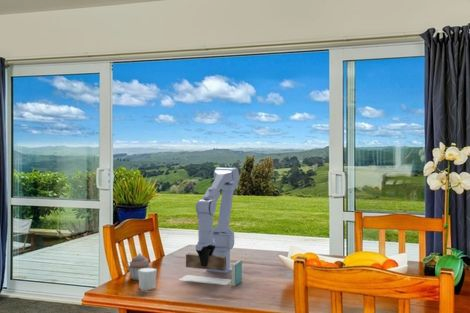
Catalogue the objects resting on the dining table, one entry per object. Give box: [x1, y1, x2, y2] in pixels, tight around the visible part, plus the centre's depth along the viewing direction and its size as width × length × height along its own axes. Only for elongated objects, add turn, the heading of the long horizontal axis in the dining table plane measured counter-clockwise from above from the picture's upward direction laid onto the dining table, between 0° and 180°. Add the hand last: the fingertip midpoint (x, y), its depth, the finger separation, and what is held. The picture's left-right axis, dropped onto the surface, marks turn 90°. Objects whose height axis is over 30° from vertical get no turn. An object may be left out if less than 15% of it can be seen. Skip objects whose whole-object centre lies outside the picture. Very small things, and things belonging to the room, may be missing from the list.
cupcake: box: [127, 253, 152, 281], centre depth 187 cm, size 9×9×10 cm
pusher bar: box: [185, 252, 226, 271], centre depth 184 cm, size 16×2×5 cm, turn 70°
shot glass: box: [138, 267, 158, 292], centre depth 173 cm, size 7×7×7 cm
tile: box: [231, 260, 243, 287], centre depth 179 cm, size 2×7×8 cm, turn 160°
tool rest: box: [178, 274, 232, 286], centre depth 184 cm, size 20×8×1 cm, turn 70°
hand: (205, 265), depth 184 cm, fingers closed on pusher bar, 2 cm apart
